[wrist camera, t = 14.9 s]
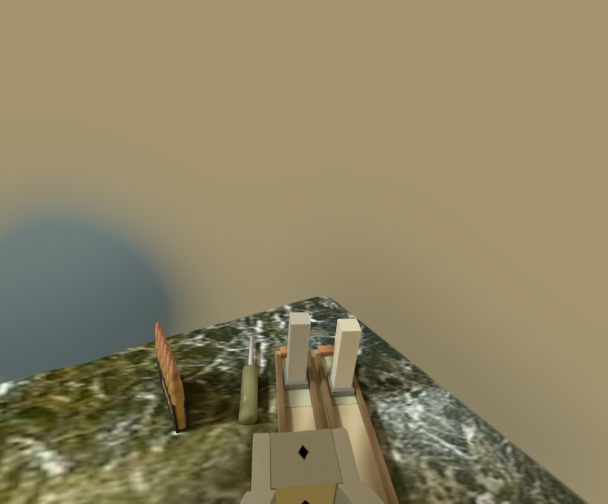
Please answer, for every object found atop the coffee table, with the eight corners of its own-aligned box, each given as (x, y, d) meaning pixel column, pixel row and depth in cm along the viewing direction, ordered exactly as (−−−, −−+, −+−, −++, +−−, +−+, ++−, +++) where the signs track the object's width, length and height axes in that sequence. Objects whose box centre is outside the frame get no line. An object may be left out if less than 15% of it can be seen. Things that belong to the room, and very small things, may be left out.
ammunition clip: (190, 427, 44) (182, 362, 39) (176, 434, 44) (166, 368, 38) (171, 376, 52) (163, 316, 47) (159, 380, 51) (149, 320, 46)
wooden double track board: (284, 562, 32) (285, 549, 31) (275, 356, 58) (275, 345, 57) (407, 548, 34) (412, 535, 33) (344, 353, 60) (345, 343, 59)
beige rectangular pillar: (331, 396, 49) (340, 334, 44) (326, 376, 52) (334, 316, 47) (353, 395, 49) (365, 333, 44) (347, 375, 53) (357, 316, 48)
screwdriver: (255, 425, 46) (258, 413, 45) (237, 424, 45) (240, 412, 44) (257, 344, 61) (259, 334, 60) (243, 343, 60) (246, 332, 59)
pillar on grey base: (285, 389, 49) (288, 327, 44) (283, 369, 53) (286, 310, 48) (307, 388, 50) (314, 326, 45) (304, 369, 54) (310, 310, 49)
